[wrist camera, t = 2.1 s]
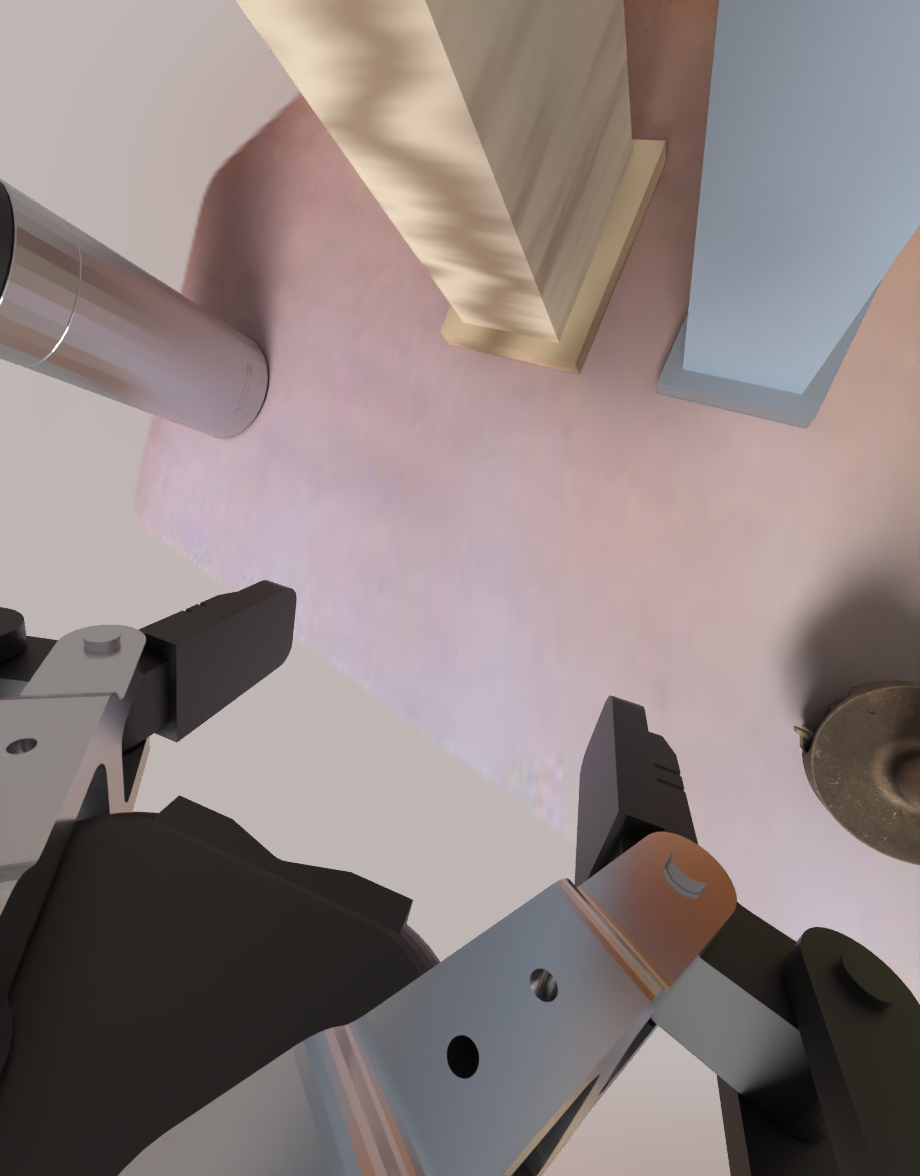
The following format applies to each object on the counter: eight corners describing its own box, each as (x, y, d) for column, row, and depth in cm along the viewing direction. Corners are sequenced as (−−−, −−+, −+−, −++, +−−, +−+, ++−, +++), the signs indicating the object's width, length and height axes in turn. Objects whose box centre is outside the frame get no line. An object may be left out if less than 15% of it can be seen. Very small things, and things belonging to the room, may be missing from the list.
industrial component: (1007, 732, 22) (1362, 867, 11) (903, 848, 23) (1125, 1072, 12) (800, 621, 25) (911, 638, 14) (720, 728, 26) (763, 820, 15)
